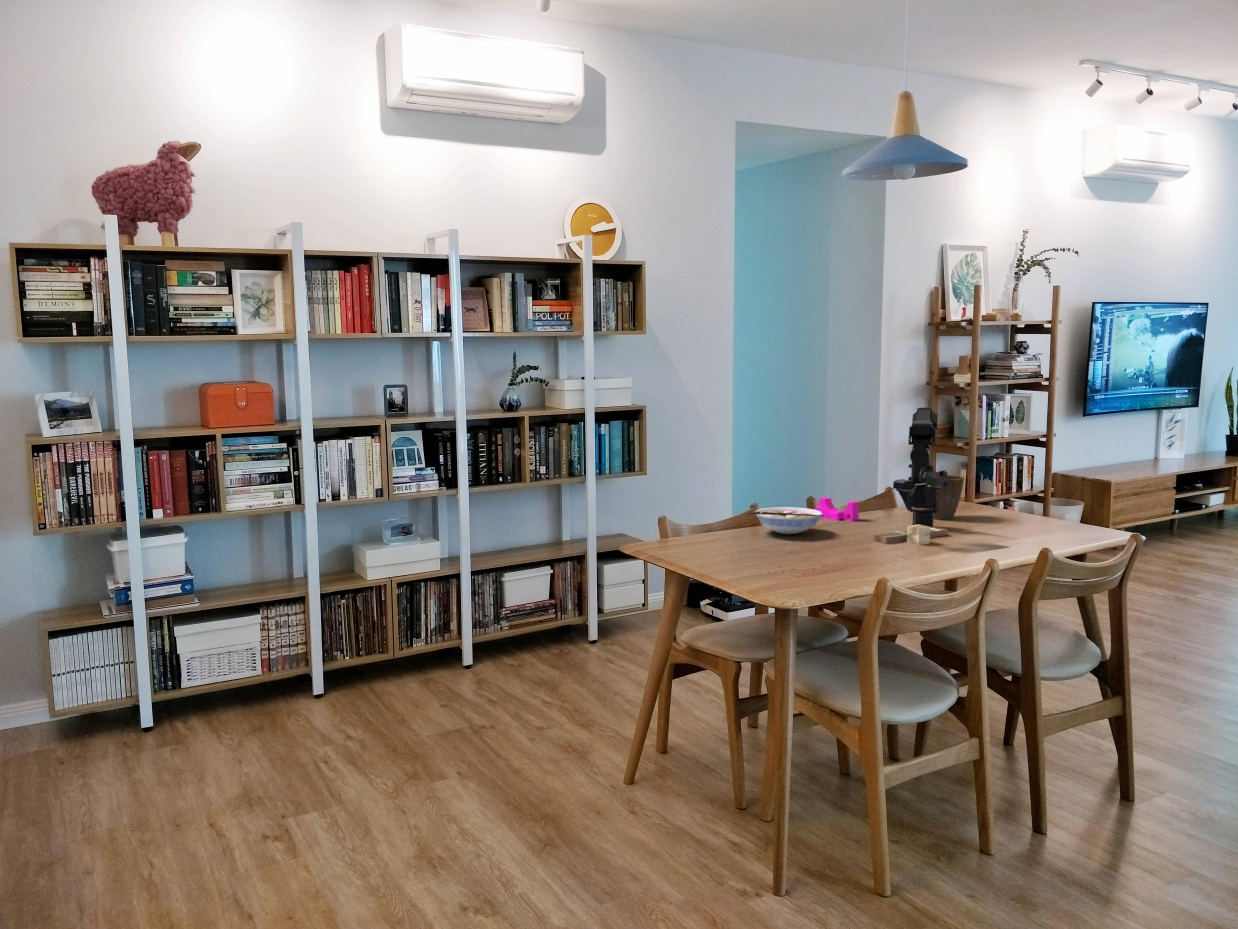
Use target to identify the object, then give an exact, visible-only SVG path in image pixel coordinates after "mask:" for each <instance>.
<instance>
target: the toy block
mask: <svg viewBox="0 0 1238 929" xmlns="http://www.w3.org/2000/svg"><path fill="white" fill-rule="evenodd" d="M859 503H860V501H857V500H853V501H848V502H847V504H846V508H845V509H844V510H843V511H841V510H839V509H837V508H836V507H835V505H834V504H833V502H832V498H831V497H826V496H825V497H819V498H818V506H817V505H816V506H815V507H814V510H817V511H821V513H822V515H824V516H821V517H820V519H825V520H830V519H834V520H833V521H837V520H838V521H840V520H839V519H843V520H842V521H847V520H848V522H857V521H859V511H860V510H859V507H860V504H859Z"/></svg>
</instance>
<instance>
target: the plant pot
mask: <svg viewBox="0 0 1238 929" xmlns="http://www.w3.org/2000/svg"><path fill="white" fill-rule="evenodd" d="M947 476H948V478H947V486H945V487H944V489H942V490H940V491H939V492H938V493H937V495H936V499H937V500H938V501H937V513H933V520H938V521H952V520H953V519H954V516H955V514H956V513H957V512H956V511H957V510H958V506H959V504H960V499H961V495H962V492H963V488H964V482H965V477H963V476H959V475H949V474H947ZM931 509H934V508H931Z"/></svg>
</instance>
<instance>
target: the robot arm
mask: <svg viewBox="0 0 1238 929" xmlns="http://www.w3.org/2000/svg"><path fill="white" fill-rule="evenodd" d="M911 421H912V422H911V425H910V426H909V429H908V430H909V431H908V441H907V442H908V445H911V446H912V445H913V446H912V447H911V452H910V455H909V457H910V461H911V464H908V468H910V469H911V472H910V473H911V474H910V476H908V479H903V478H902V479H901V478H900V479H895V480H894V481H893V485H892V487H893V488H892V489H895V491H896V492H898V493H899V494H898V495H900V497H901V499H902V502H903V504H904V506H905V508H906V511H908V512H910V513H912V525H923V526H928V527H934V519H933V513H937V501H938V500H937V499H936V495H937V493H938V492H939V491H940V490H942V489H944V487H945V486H947V478H948V476H947V475H948V472H947V471H946V470H940V471H935V470H934V466H933V464H931V451H932V450H931V446H934V443H936V440H937V430H938V429H939V415H938V414H937V413H936V412H935V411H933V407H932V408H931V407H917V408H916V412H914V413H913V414H912V418H911ZM931 508H934V509H931Z"/></svg>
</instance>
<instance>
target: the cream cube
mask: <svg viewBox="0 0 1238 929" xmlns="http://www.w3.org/2000/svg"><path fill="white" fill-rule="evenodd" d="M930 541H931V538H930V527H928V526H923V525H913V524H912V525H907V534H904V541H903V542H904V543H908V544H911V545H912V544H913V545H917V546H922V545H928V544H931V543H930Z"/></svg>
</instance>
